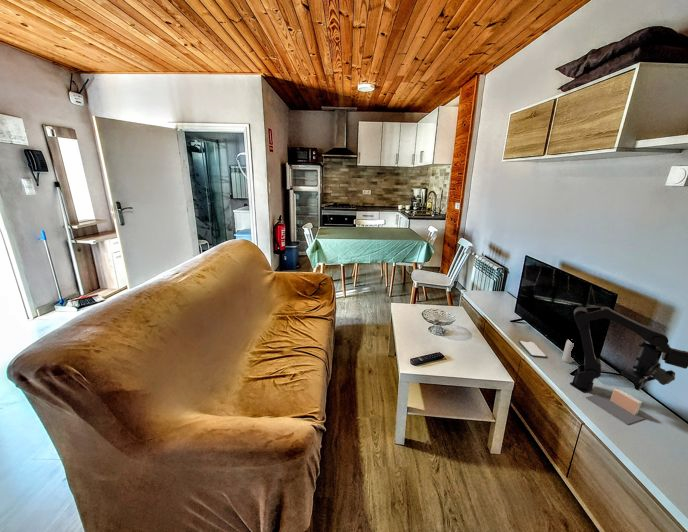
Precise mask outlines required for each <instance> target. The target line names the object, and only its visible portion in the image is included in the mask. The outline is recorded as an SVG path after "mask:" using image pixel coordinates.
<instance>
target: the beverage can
mask: <svg viewBox="0 0 688 532" xmlns="http://www.w3.org/2000/svg"><path fill="white" fill-rule="evenodd" d="M573 347H574V343H572V342H571V341H570V340H569V338H568V339H566V342H565V345H564V349H563V352H562V353H563V354H562V357H561V360H562V361H563V362H564V363H567V364H572V363H573V361H574V358H572V357H571V351H572V349H573Z"/></svg>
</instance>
